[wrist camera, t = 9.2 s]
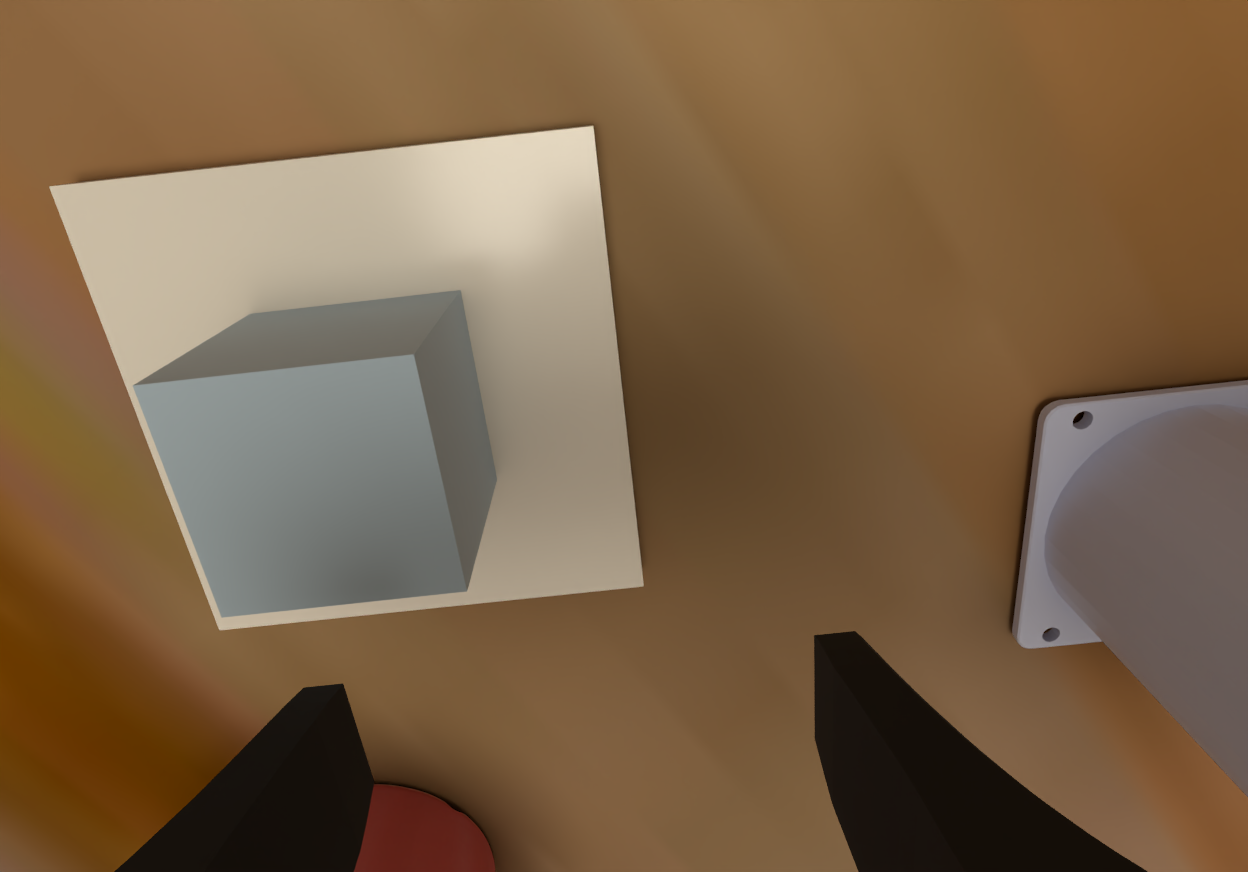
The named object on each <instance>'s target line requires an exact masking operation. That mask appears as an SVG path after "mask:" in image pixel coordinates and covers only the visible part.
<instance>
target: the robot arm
mask: <svg viewBox="0 0 1248 872" xmlns="http://www.w3.org/2000/svg"><path fill="white" fill-rule="evenodd" d="M1083 411H1084V416H1083V418H1082V419H1081V420H1080V421H1079V422H1077V423H1074V424H1073V419H1074V417H1075V416H1076V415H1077V414H1078V413H1080V412H1083ZM1049 628H1052V629H1051V630H1050V631H1049V632H1047V633H1044V631H1046V630H1047V629H1049ZM1012 633H1013V637H1014V638H1015V639H1016V641H1017V642H1018V643H1019V644H1020V646H1022V647H1024V648H1029V649H1033V648H1043V647H1053V646H1063V645H1073V644H1083V643H1092V642H1102V641H1103V643H1104V644H1105V645H1106V646H1107V647H1108V648H1109V649H1110V650H1111V651H1112V652H1113V653H1114V654H1115V655H1116V656H1117V658H1118V659H1119V660H1120V661H1121V662H1122V663H1123V664H1124V665H1125V666H1126V667H1127V668H1128V669H1129V670H1130V671H1131V673H1132V674H1133V675H1134V676H1135V677H1136V678H1137V679H1138V680H1139V681H1140V682H1141V683H1142V684H1143V685H1144V686H1145V688H1146V689H1147V690H1148V691H1149V692H1150V693H1151V694H1152V695H1153V696H1154V697H1155V698H1156V699H1157V700H1158V701H1159V703H1160V704H1161V705H1162V706H1163V707H1164V708H1165V709H1166V710H1167V711H1168V712H1169V713H1170V714H1171V715H1172V717H1173V718H1174V719H1175V720H1176V721H1177V722H1178V723H1179V724H1180V725H1181V726H1182V727H1183V728H1184V729H1185V730H1186V732H1187V733H1188V734H1189V735H1190V736H1191V737H1192V738H1193V739H1194V740H1195V741H1196V742H1197V743H1198V744H1199V745H1200V747H1201V748H1202V749H1203V750H1204V751H1205V752H1206V753H1207V754H1208V755H1209V756H1210V757H1211V758H1212V759H1213V760H1214V762H1215V763H1216V764H1217V765H1218V766H1219V767H1220V768H1221V769H1222V770H1223V771H1224V772H1225V773H1226V774H1227V775H1228V777H1229V778H1230V779H1231V780H1232V781H1233V782H1234V783H1235V784H1236V785H1237V786H1238V787H1239V788H1240V789H1241V790H1242V792H1243V793H1244V794H1245V795H1246V796H1247V797H1248V380H1244V381H1234V382H1225V383H1215V384H1206V385H1197V386H1187V387H1178V388H1168V389H1159V390H1149V391H1140V392H1130V393H1121V394H1111V395H1102V396H1093V397H1083V398H1074V399H1064V400H1057V401H1054V402H1051V403H1050V404H1048V405H1047V406H1045V407H1044V409H1043V410H1042V411H1041V412H1040V415H1039V418H1038V424H1037V432H1036V440H1035V448H1034V457H1033V465H1032V473H1031V481H1030V489H1029V497H1028V506H1027V514H1026V522H1025V530H1024V538H1023V546H1022V555H1021V563H1020V571H1019V579H1018V587H1017V596H1016V604H1015V612H1014V620H1013V628H1012ZM814 659H815V741H816V745H817V748H818V752H819V756H820V760H821V764H822V768H823V771H824V775H825V779H826V782H827V786H828V790H829V793H830V797H831V800H832V804H833V807H834V809H835V812H836V814H837V817H838V820H839V822H840V825H841V827H842V830H843V833H844V835H845V838H846V840H847V843H848V846H849V848H850V851H851V853H852V856H853V858H854V861H855V863H856V866H857V869H858V871H859V872H1147V871H1146V870H1144V869H1143V868H1141V867H1139V866H1138V865H1136V864H1135V863H1133V862H1131V861H1130V860H1128V859H1127V858H1125V857H1123V856H1122V855H1120V854H1119V853H1117V852H1115V851H1114V850H1112V849H1111V848H1109V847H1108V846H1106V845H1105V844H1103V843H1102V842H1100V841H1099V840H1097V839H1096V838H1094V837H1093V836H1091V835H1090V834H1088V833H1087V832H1085V831H1084V830H1083V829H1081V828H1080V827H1078V826H1077V825H1076V824H1074V823H1073V822H1071V821H1070V820H1069V819H1067V818H1066V817H1064V816H1063V815H1062V814H1060V813H1059V812H1057V811H1056V810H1055V809H1053V808H1052V807H1051V806H1049V805H1048V804H1046V803H1045V802H1044V801H1042V800H1041V799H1040V798H1038V797H1037V796H1036V795H1034V794H1033V793H1032V792H1031V791H1029V790H1028V789H1027V788H1025V787H1024V786H1023V785H1022V784H1020V783H1019V782H1018V781H1017V780H1015V779H1014V778H1013V777H1012V776H1010V775H1009V774H1008V773H1007V772H1005V771H1004V770H1003V769H1002V768H1001V767H999V766H998V765H997V764H996V763H995V762H993V761H992V760H991V759H990V758H989V757H987V756H986V755H985V754H984V753H983V752H981V751H980V750H979V749H978V748H977V747H976V746H974V745H973V744H972V743H971V742H970V741H969V740H968V739H966V738H965V737H964V736H963V735H962V734H961V733H960V732H959V731H957V730H956V729H955V728H954V727H953V726H952V725H951V724H950V723H949V722H948V721H947V720H945V719H944V718H943V717H942V716H941V715H940V714H939V713H938V712H937V711H936V710H934V709H933V708H932V707H931V706H930V705H929V704H928V703H927V702H926V701H925V700H924V699H923V698H922V697H921V696H920V695H919V694H918V693H917V692H915V691H914V690H913V689H912V688H911V687H910V686H909V685H908V684H907V683H906V682H905V681H904V680H903V679H902V678H901V677H900V676H899V675H898V674H897V673H896V672H895V671H894V670H893V669H892V668H891V667H890V666H889V665H888V664H887V663H886V662H885V661H884V660H883V659H882V658H881V656H880V655H879V654H878V653H877V652H876V651H875V650H874V649H873V648H872V647H871V646H870V645H869V644H868V643H867V642H866V641H865V640H864V639H863V638H862V637H861V636H860V635H859V634H857V633H856V632H855V631H853V632H843V633H833V634H823V635H814ZM373 787H374V780H373V777H372V774H371V770H370V767H369V764H368V761H367V758H366V755H365V751H364V748H363V745H362V742H361V739H360V736H359V732H358V729H357V726H356V723H355V720H354V717H353V713H352V710H351V707H350V704H349V701H348V698H347V694H346V691H345V688H344V685H343V684H335V685H325V686H316V687H306V688H303V689H302V690H301V691H300V692H299V693H298V694H297V695H296V696H295V697H294V698H292V699H291V700H290V701H289V702H288V703H287V704H286V705H285V706H284V707H283V708H282V709H281V710H280V711H279V713H278V714H277V715H276V716H275V717H274V718H273V719H272V720H271V721H270V722H269V723H268V724H267V725H266V726H265V727H264V728H263V729H262V730H261V731H260V732H259V733H258V734H257V735H256V736H255V737H254V738H253V739H252V740H251V741H250V742H249V743H248V744H247V745H246V746H245V747H244V748H243V749H242V750H241V751H240V752H239V754H238V755H237V756H236V757H235V758H234V759H233V760H232V761H231V762H230V763H229V764H228V765H227V766H226V767H225V768H224V769H223V770H222V771H221V772H220V773H219V774H218V775H217V776H216V777H215V778H214V779H213V780H212V781H211V782H210V783H209V784H208V785H207V786H206V787H205V788H204V789H203V790H202V791H201V792H200V793H199V794H198V795H197V796H196V797H195V798H194V799H193V800H191V801H190V802H189V803H188V804H187V805H186V806H185V807H184V808H183V809H182V810H181V811H180V812H179V813H178V814H176V815H175V816H174V817H173V818H172V819H171V820H170V821H169V822H168V823H167V824H166V825H165V826H164V827H163V828H161V829H160V830H159V831H158V832H157V833H156V834H155V835H154V836H153V837H152V838H151V839H150V840H149V841H148V842H147V843H145V844H144V845H143V846H142V847H141V848H140V849H139V850H138V851H137V852H136V853H135V854H134V855H133V856H132V857H130V858H129V859H128V860H127V861H126V862H125V863H124V864H122V865H121V866H120V867H119V868H118V869H117V870H116V871H115V872H354V870H355V867H356V863H357V860H358V857H359V854H360V851H361V846H362V842H363V837H364V832H365V828H366V823H367V818H368V813H369V808H370V803H371V797H372V792H373Z"/></svg>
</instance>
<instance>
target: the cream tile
mask: <svg viewBox="0 0 1248 872" xmlns="http://www.w3.org/2000/svg"><path fill="white" fill-rule="evenodd" d="M49 187H50V190H51V193H52V195H53V198H54V200H55V203H56V206H57V208H58V211H59V213H60V216H61V219H62V221H63V224H64V226H65V229H66V232H67V234H68V237H69V239H70V242H71V245H72V247H73V250H74V253H75V255H76V258H77V260H78V263H79V266H80V268H81V271H82V273H83V276H84V279H85V281H86V284H87V286H88V289H89V292H90V294H91V297H92V299H93V302H94V305H95V307H96V310H97V312H98V315H99V318H100V320H101V323H102V325H103V328H104V331H105V333H106V336H107V339H108V341H109V344H110V346H111V349H112V352H113V354H114V357H115V359H116V362H117V365H118V367H119V370H120V372H121V375H122V378H123V380H124V383H125V385H126V388H127V391H128V393H129V396H130V398H131V401H132V404H133V406H134V409H135V411H136V414H137V417H138V419H139V422H140V425H141V427H142V430H143V432H144V435H145V438H146V440H147V443H148V445H149V448H150V451H151V453H152V456H153V458H154V461H155V464H156V466H157V469H158V471H159V474H160V477H161V479H162V482H163V484H164V487H165V490H166V492H167V495H168V497H169V500H170V503H171V505H172V508H173V511H174V513H175V516H176V518H177V521H178V524H179V526H180V529H181V531H182V534H183V537H184V539H185V542H186V544H187V547H188V550H189V552H190V555H191V557H192V560H193V563H194V565H195V568H196V570H197V573H198V576H199V578H200V581H201V583H202V586H203V589H204V591H205V594H206V597H207V599H208V602H209V604H210V607H211V610H212V612H213V615H214V617H215V620H216V623H217V625H218V628H219V630H227V629H237V628H247V627H256V626H266V625H276V624H285V623H295V622H305V621H314V620H324V619H334V618H343V617H353V616H363V615H372V614H382V613H392V612H401V611H411V610H421V609H430V608H440V607H450V606H459V605H469V604H479V603H488V602H498V601H508V600H517V599H527V598H536V597H546V596H556V595H565V594H575V593H585V592H594V591H604V590H614V589H623V588H633V587H643V586H644V584H643V573H642V563H641V554H640V545H639V536H638V526H637V517H636V508H635V499H634V490H633V481H632V472H631V463H630V453H629V444H628V435H627V426H626V417H625V408H624V399H623V390H622V380H621V371H620V362H619V353H618V344H617V335H616V326H615V317H614V307H613V298H612V289H611V280H610V271H609V262H608V253H607V244H606V234H605V225H604V216H603V207H602V198H601V189H600V180H599V171H598V161H597V152H596V143H595V134H594V125H587V126H578V127H569V128H560V129H551V130H542V131H533V132H524V133H515V134H506V135H497V136H488V137H479V138H470V139H461V140H452V141H443V142H434V143H425V144H416V145H407V146H398V147H389V148H380V149H371V150H362V151H353V152H344V153H335V154H326V155H317V156H308V157H299V158H290V159H281V160H272V161H263V162H254V163H245V164H236V165H227V166H218V167H209V168H200V169H191V170H182V171H173V172H164V173H155V174H146V175H137V176H128V177H119V178H110V179H101V180H92V181H83V182H75V183H69V184H62V185H56V186H49ZM457 290H461V295H462V300H463V305H464V310H465V316H466V321H467V326H468V331H469V336H470V341H471V347H472V352H473V357H474V362H475V367H476V373H477V378H478V383H479V388H480V393H481V399H482V404H483V409H484V414H485V419H486V425H487V430H488V435H489V440H490V445H491V450H492V456H493V461H494V466H495V471H496V476H497V482H496V485H495V489H494V493H493V497H492V500H491V504H490V508H489V512H488V515H487V519H486V523H485V527H484V530H483V534H482V538H481V542H480V545H479V549H478V553H477V556H476V560H475V564H474V568H473V571H472V575H471V579H470V583H469V586H468V590H467V591H466V592H457V593H448V594H438V595H429V596H420V597H410V598H401V599H392V600H382V601H373V602H364V603H354V604H345V605H336V606H326V607H317V608H308V609H298V610H289V611H279V612H270V613H261V614H251V615H242V616H233V617H223V618H222V617H221V615H220V612H219V609H218V607H217V604H216V602H215V599H214V596H213V594H212V591H211V589H210V586H209V583H208V581H207V578H206V576H205V573H204V570H203V568H202V565H201V563H200V560H199V557H198V555H197V552H196V549H195V547H194V544H193V542H192V539H191V536H190V534H189V531H188V529H187V526H186V523H185V521H184V518H183V516H182V513H181V510H180V508H179V505H178V503H177V500H176V497H175V495H174V492H173V490H172V487H171V484H170V482H169V479H168V477H167V474H166V471H165V469H164V466H163V464H162V461H161V458H160V456H159V453H158V451H157V448H156V445H155V443H154V440H153V438H152V435H151V432H150V430H149V427H148V424H147V422H146V419H145V417H144V414H143V411H142V409H141V406H140V404H139V401H138V398H137V396H136V393H135V391H134V388H133V385H134V384H136V383H138V382H139V381H141V380H143V379H144V378H146V377H148V376H149V375H151V374H152V373H154V372H156V371H157V370H159V369H161V368H162V367H164V366H166V365H167V364H169V363H170V362H172V361H174V360H175V359H177V358H179V357H180V356H182V355H184V354H185V353H187V352H188V351H190V350H192V349H193V348H195V347H197V346H198V345H200V344H202V343H203V342H205V341H206V340H208V339H210V338H211V337H213V336H215V335H216V334H218V333H220V332H221V331H223V330H224V329H226V328H228V327H229V326H231V325H233V324H234V323H236V322H238V321H239V320H241V319H242V318H244V317H246V316H247V315H249V314H253V313H262V312H271V311H280V310H288V309H297V308H306V307H315V306H324V305H333V304H342V303H351V302H359V301H368V300H377V299H386V298H395V297H404V296H413V295H422V294H430V293H439V292H448V291H457Z"/></svg>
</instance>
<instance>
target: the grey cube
mask: <svg viewBox="0 0 1248 872" xmlns="http://www.w3.org/2000/svg"><path fill="white" fill-rule="evenodd" d="M133 388H134V391H135V393H136V396H137V398H138V401H139V404H140V406H141V409H142V411H143V414H144V417H145V419H146V422H147V424H148V427H149V430H150V432H151V435H152V438H153V440H154V443H155V445H156V448H157V451H158V453H159V456H160V458H161V461H162V464H163V466H164V469H165V471H166V474H167V477H168V479H169V482H170V484H171V487H172V490H173V492H174V495H175V497H176V500H177V503H178V505H179V508H180V510H181V513H182V516H183V518H184V521H185V523H186V526H187V529H188V531H189V534H190V536H191V539H192V542H193V544H194V547H195V549H196V552H197V555H198V557H199V560H200V563H201V565H202V568H203V570H204V573H205V576H206V578H207V581H208V583H209V586H210V589H211V591H212V594H213V596H214V599H215V602H216V604H217V607H218V609H219V612H220V615H221V617H222V618H223V617H233V616H242V615H251V614H261V613H270V612H279V611H289V610H298V609H308V608H317V607H326V606H336V605H345V604H354V603H364V602H373V601H382V600H392V599H401V598H410V597H420V596H429V595H438V594H448V593H457V592H466V591H467V590H468V586H469V583H470V579H471V575H472V571H473V568H474V564H475V560H476V556H477V553H478V549H479V545H480V542H481V538H482V534H483V530H484V527H485V523H486V519H487V515H488V512H489V508H490V504H491V500H492V497H493V493H494V489H495V485H496V482H497V476H496V471H495V466H494V461H493V456H492V450H491V445H490V440H489V435H488V430H487V425H486V419H485V414H484V409H483V404H482V399H481V393H480V388H479V383H478V378H477V373H476V367H475V362H474V357H473V352H472V347H471V341H470V336H469V331H468V326H467V321H466V316H465V310H464V305H463V300H462V295H461V290H457V291H448V292H439V293H430V294H422V295H413V296H404V297H395V298H386V299H377V300H368V301H359V302H351V303H342V304H333V305H324V306H315V307H306V308H297V309H288V310H280V311H271V312H262V313H253V314H249V315H247V316H246V317H244V318H242V319H241V320H239V321H238V322H236V323H234V324H233V325H231V326H229V327H228V328H226V329H224V330H223V331H221V332H220V333H218V334H216V335H215V336H213V337H211V338H210V339H208V340H206V341H205V342H203V343H202V344H200V345H198V346H197V347H195V348H193V349H192V350H190V351H188V352H187V353H185V354H184V355H182V356H180V357H179V358H177V359H175V360H174V361H172V362H170V363H169V364H167V365H166V366H164V367H162V368H161V369H159V370H157V371H156V372H154V373H152V374H151V375H149V376H148V377H146V378H144V379H143V380H141V381H139V382H138V383H136V384H134V385H133Z"/></svg>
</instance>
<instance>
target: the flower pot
mask: <svg viewBox="0 0 1248 872" xmlns="http://www.w3.org/2000/svg"><path fill="white" fill-rule="evenodd" d="M354 872H495V863H494V858H493V855H492V851H491V849H490V846H489V844H488V842H487V840H486V838H485V836H484V835H483V833H482V832H481V830H480V829H479V828H478V826H477V825H476V824H475V823H474V822H473V821H472V820H471V819H470V818H469V817H468V816H466V815H465V814H463V813H462V812H458V811H456V810H454V809H452V808H451V807H450V806H449V805H448V804H447V803H446V802H445V801H443V800H441V799H439V798H437V797H435V796H433V795H430V794H428V793H425V792H422V791H419V790H416V789H411V788H406V787H402V786H396V785H386V784H374V787H373V792H372V797H371V803H370V808H369V813H368V818H367V823H366V828H365V832H364V837H363V842H362V846H361V851H360V854H359V857H358V860H357V863H356V867H355V870H354Z"/></svg>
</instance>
